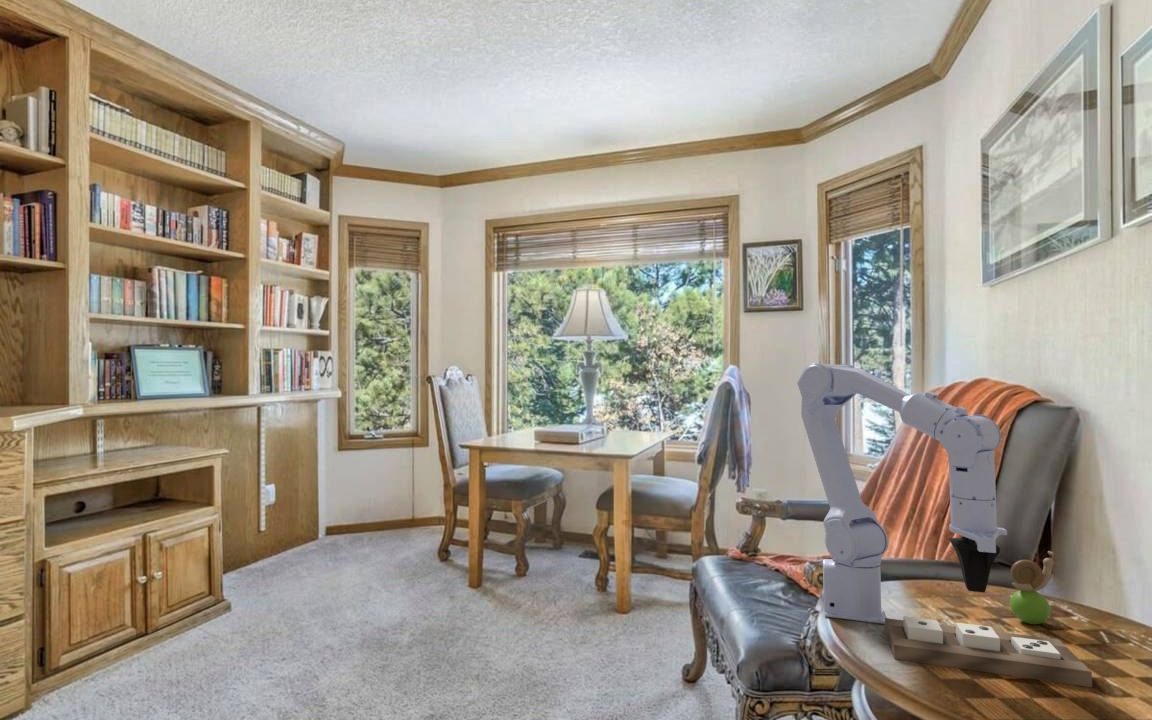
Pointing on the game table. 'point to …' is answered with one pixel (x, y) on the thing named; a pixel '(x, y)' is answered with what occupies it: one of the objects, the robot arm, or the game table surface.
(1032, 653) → the tile three pips
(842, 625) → the game table surface
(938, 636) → the tile one pip
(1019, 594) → the snail figurine
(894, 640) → the key board
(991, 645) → the tile two pips
